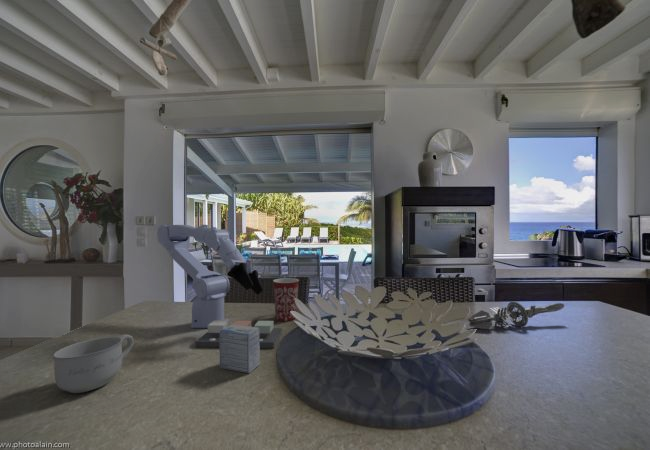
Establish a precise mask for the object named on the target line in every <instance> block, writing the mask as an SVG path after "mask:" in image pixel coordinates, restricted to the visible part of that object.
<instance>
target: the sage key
mask: <svg viewBox="0 0 650 450" xmlns="http://www.w3.org/2000/svg"><path fill="white" fill-rule="evenodd" d="M274 324H275V323H274V320H258V321H257V322H256V323H255V324H254V326H253V327H257V328H259V333H271V331H272V329H273V328H275V327H274V326H275V325H274Z"/></svg>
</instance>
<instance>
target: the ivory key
mask: <svg viewBox="0 0 650 450" xmlns="http://www.w3.org/2000/svg"><path fill="white" fill-rule="evenodd" d="M227 326H230V320H228V321H222V320H214V321H213V322H212V323H210V324H209V325H208V328H207V332H208V333H220V330H222V329H223V328H225V327H227Z"/></svg>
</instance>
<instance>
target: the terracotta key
mask: <svg viewBox="0 0 650 450" xmlns="http://www.w3.org/2000/svg"><path fill="white" fill-rule="evenodd" d="M231 325H241V326H249V327H252V320H235V321H234V322H233V323H231Z"/></svg>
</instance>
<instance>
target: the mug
mask: <svg viewBox="0 0 650 450" xmlns="http://www.w3.org/2000/svg"><path fill="white" fill-rule="evenodd" d="M272 282H273V294H274V296H273V297H274V312H275V319H276V321H278V322H291V321H294V318H293V316H292V314H291V313H290V311H291V310H293V311H296V312H298V310H297V309H298V305H297V306H296V304H295V300H294V298H297V299H298V298H299V297H298V295H299V294H298V293H299V282H300V279H298V278H293V277H282V278H275V279H273V280H272Z"/></svg>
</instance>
